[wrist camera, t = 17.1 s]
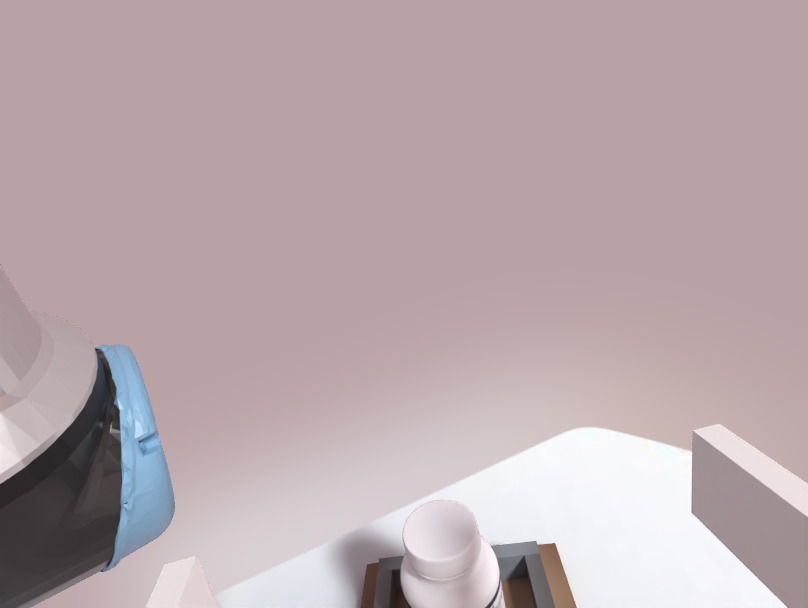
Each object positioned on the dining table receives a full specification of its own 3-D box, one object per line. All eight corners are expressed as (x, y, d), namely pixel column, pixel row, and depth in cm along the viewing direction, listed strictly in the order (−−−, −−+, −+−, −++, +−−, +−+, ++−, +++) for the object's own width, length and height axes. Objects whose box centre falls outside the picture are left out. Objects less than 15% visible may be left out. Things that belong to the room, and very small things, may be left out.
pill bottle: (414, 625, 29) (382, 505, 26) (493, 599, 29) (471, 479, 26) (434, 723, 24) (397, 587, 21) (530, 689, 24) (508, 552, 21)
